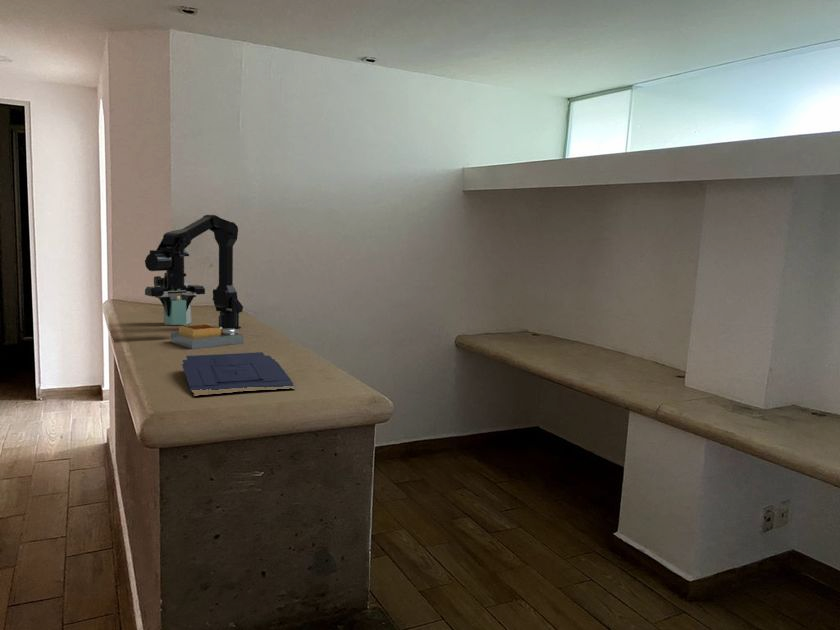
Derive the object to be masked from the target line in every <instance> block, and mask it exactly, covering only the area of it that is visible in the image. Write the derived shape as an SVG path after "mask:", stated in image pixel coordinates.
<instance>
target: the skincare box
mask: <svg viewBox="0 0 840 630" xmlns="http://www.w3.org/2000/svg"><path fill="white" fill-rule="evenodd" d="M184 283H185V285H186V287H187V286H188V285H190V284H189V282H188V283H186V282H184ZM172 290H174V289H172ZM181 294H183V293H170V294H168V297H170V299H175V296H180V299H182V297H181ZM191 310H192V308H191V304H190V305H189V307H188V309H187V311H186V324H177V325H176V326H187V325H191V323H192V311H191ZM163 320H164V322H163V323H164V325H165V326H172V325H171V324H167V323H166V316H165V310H164V307H163Z"/></svg>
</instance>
